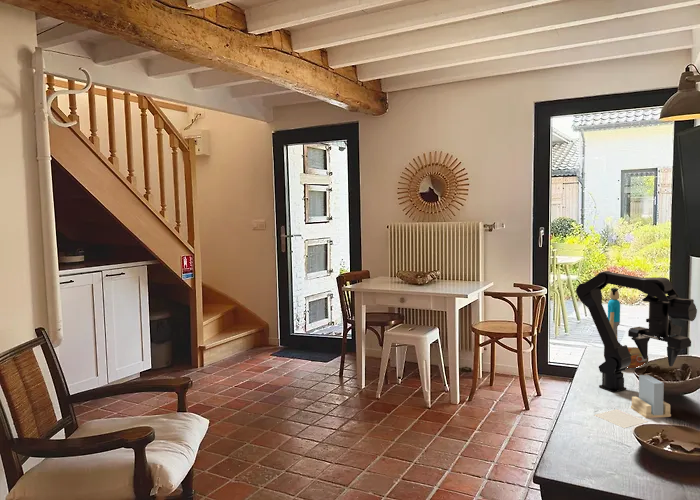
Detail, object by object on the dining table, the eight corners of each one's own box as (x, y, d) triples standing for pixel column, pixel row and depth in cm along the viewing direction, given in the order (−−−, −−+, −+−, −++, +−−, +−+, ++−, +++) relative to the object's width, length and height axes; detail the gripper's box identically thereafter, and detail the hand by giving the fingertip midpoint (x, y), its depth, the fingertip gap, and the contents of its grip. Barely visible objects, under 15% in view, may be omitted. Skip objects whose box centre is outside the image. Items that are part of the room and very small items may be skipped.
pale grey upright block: (638, 405, 174) (639, 375, 173) (647, 404, 174) (648, 374, 173) (653, 415, 166) (654, 383, 165) (663, 414, 166) (663, 383, 165)
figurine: (621, 365, 218) (622, 291, 215) (604, 362, 221) (604, 290, 218) (627, 354, 231) (628, 285, 228) (610, 353, 234) (611, 284, 232)
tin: (606, 367, 215) (606, 347, 214) (605, 365, 218) (605, 345, 217) (648, 370, 211) (648, 349, 210) (646, 367, 214) (647, 346, 213)
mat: (593, 415, 169) (593, 414, 169) (616, 410, 173) (616, 409, 173) (624, 429, 159) (624, 428, 159) (647, 422, 163) (647, 421, 163)
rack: (630, 408, 174) (631, 396, 173) (655, 407, 174) (655, 395, 174) (645, 418, 166) (645, 406, 165) (670, 417, 166) (671, 404, 166)
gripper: (703, 318, 172) (701, 366, 173) (650, 308, 189) (649, 352, 190) (679, 322, 167) (678, 371, 169) (627, 312, 184) (626, 356, 186)
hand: (657, 362), depth 178 cm, fingers open, 9 cm apart
